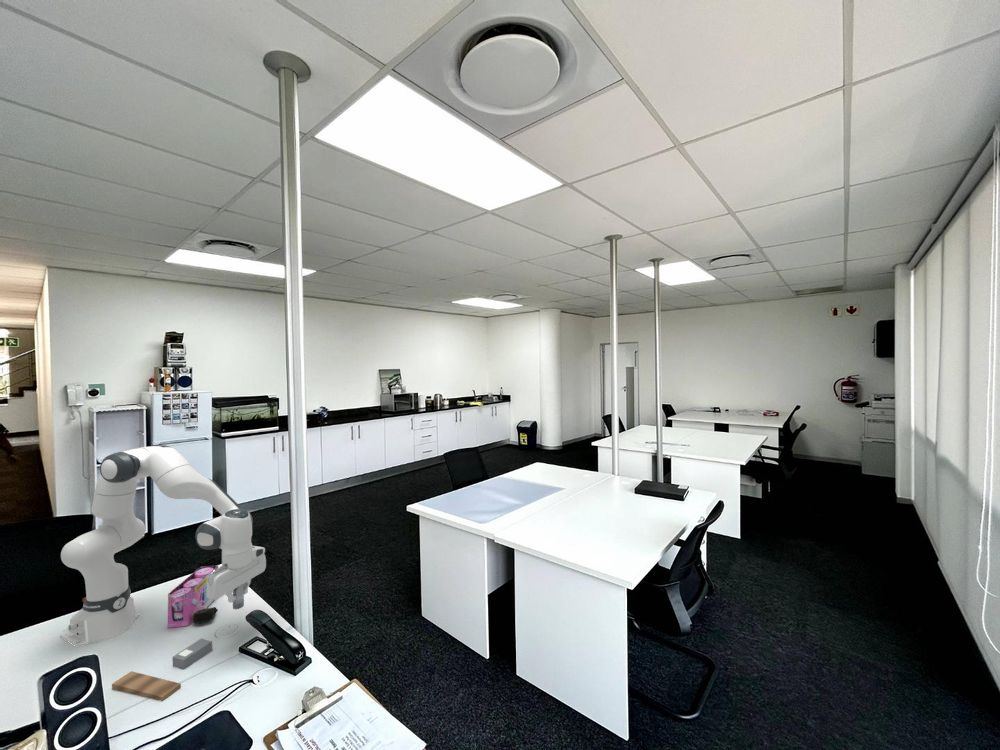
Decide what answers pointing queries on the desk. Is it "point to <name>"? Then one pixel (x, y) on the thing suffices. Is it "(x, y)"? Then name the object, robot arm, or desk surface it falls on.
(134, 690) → the strip
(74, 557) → the robot arm
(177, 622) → the gum box
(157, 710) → the desk surface
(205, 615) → the tape measure
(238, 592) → the grey metal cylinder
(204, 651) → the block
